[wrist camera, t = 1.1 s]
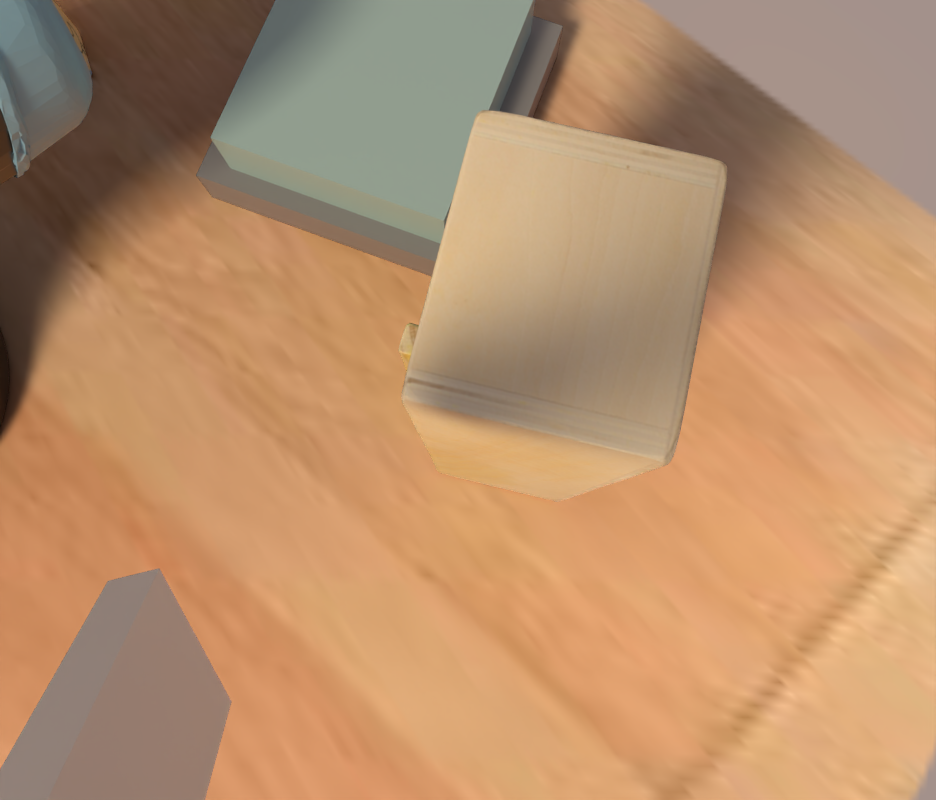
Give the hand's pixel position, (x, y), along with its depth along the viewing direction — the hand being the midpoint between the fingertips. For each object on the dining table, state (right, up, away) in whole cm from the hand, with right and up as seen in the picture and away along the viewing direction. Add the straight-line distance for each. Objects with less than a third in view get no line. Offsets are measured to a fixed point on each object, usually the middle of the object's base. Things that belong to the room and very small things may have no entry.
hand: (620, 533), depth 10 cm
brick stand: (-7, +17, +30) cm, 35 cm away
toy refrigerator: (0, +1, +27) cm, 27 cm away
